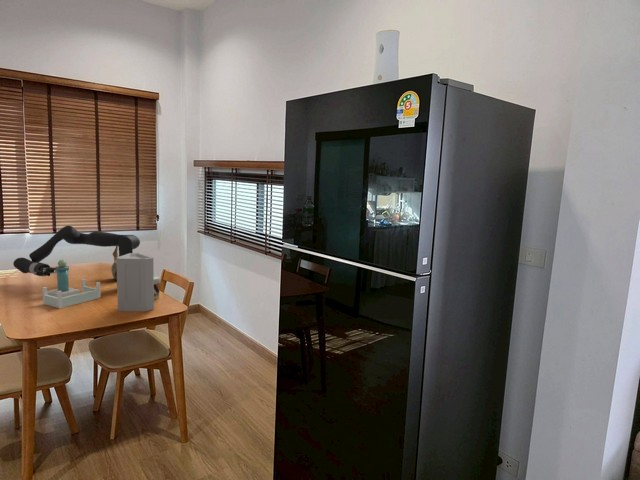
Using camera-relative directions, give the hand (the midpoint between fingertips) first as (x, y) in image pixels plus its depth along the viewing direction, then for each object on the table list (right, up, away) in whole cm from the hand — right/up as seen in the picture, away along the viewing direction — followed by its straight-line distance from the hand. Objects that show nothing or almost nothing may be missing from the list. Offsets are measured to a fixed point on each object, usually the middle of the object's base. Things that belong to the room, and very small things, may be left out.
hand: (57, 272), depth 241 cm
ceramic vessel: (+18, -8, +37) cm, 42 cm away
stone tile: (+4, -12, 0) cm, 13 cm away
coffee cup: (+55, -15, 0) cm, 57 cm away
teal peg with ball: (+4, -10, -1) cm, 11 cm away
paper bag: (+52, -17, -19) cm, 58 cm away
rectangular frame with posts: (+16, -14, -12) cm, 24 cm away
